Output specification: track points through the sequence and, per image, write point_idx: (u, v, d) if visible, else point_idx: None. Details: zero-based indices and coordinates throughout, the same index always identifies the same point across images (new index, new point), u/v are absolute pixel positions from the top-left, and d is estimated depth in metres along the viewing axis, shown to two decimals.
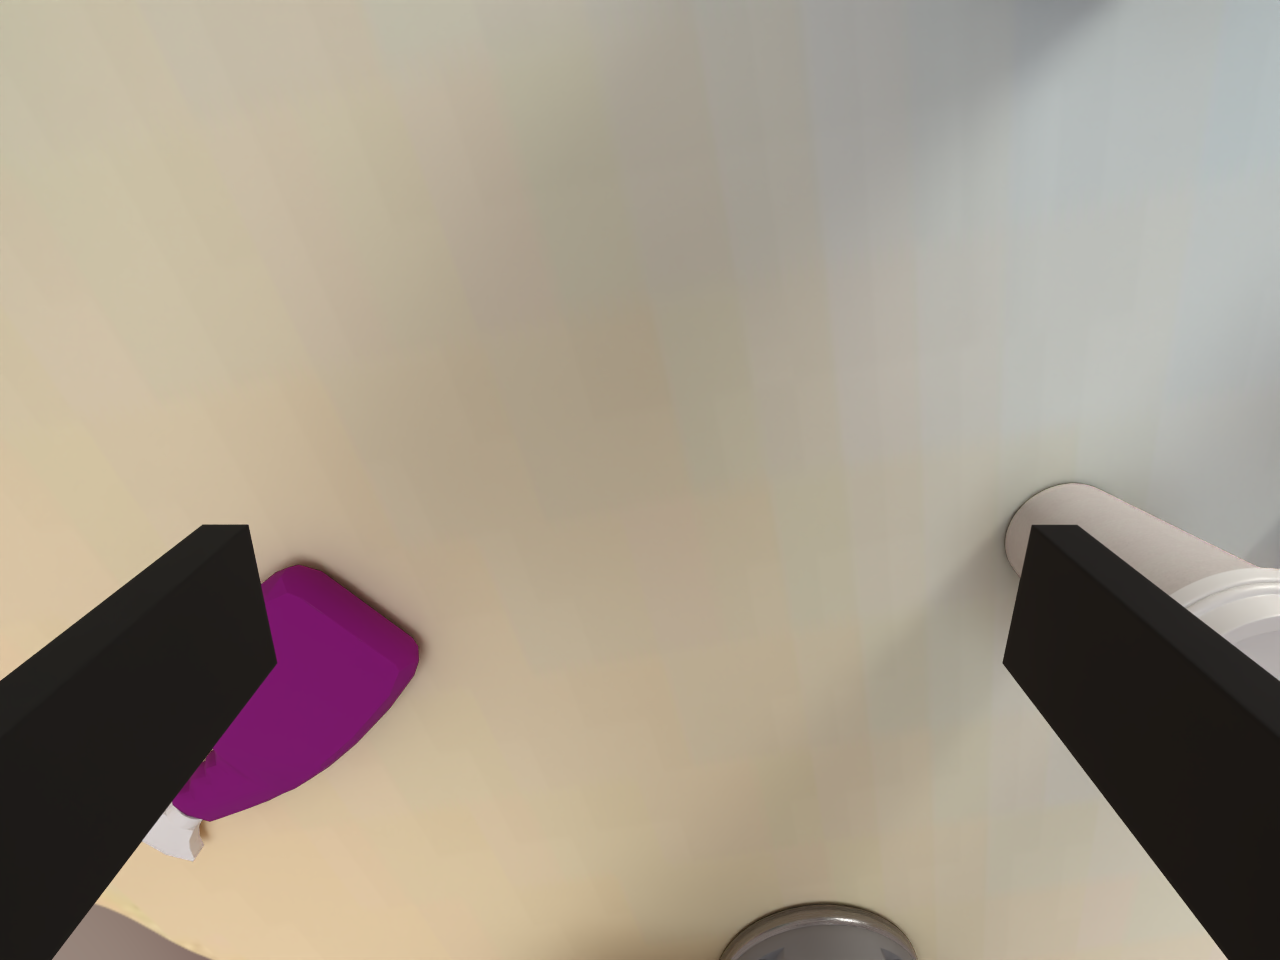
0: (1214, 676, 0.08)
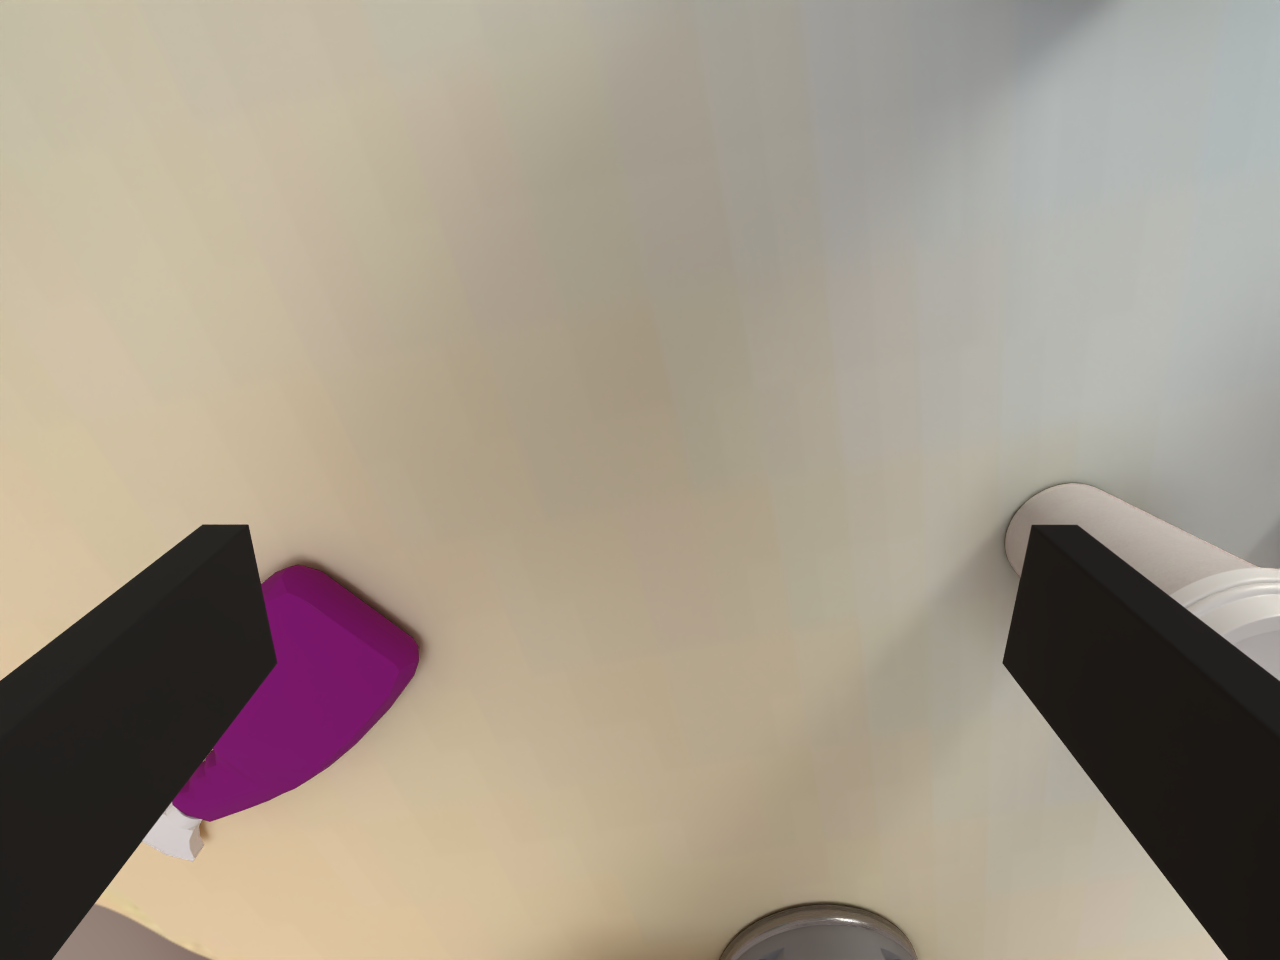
0: (1214, 676, 0.08)
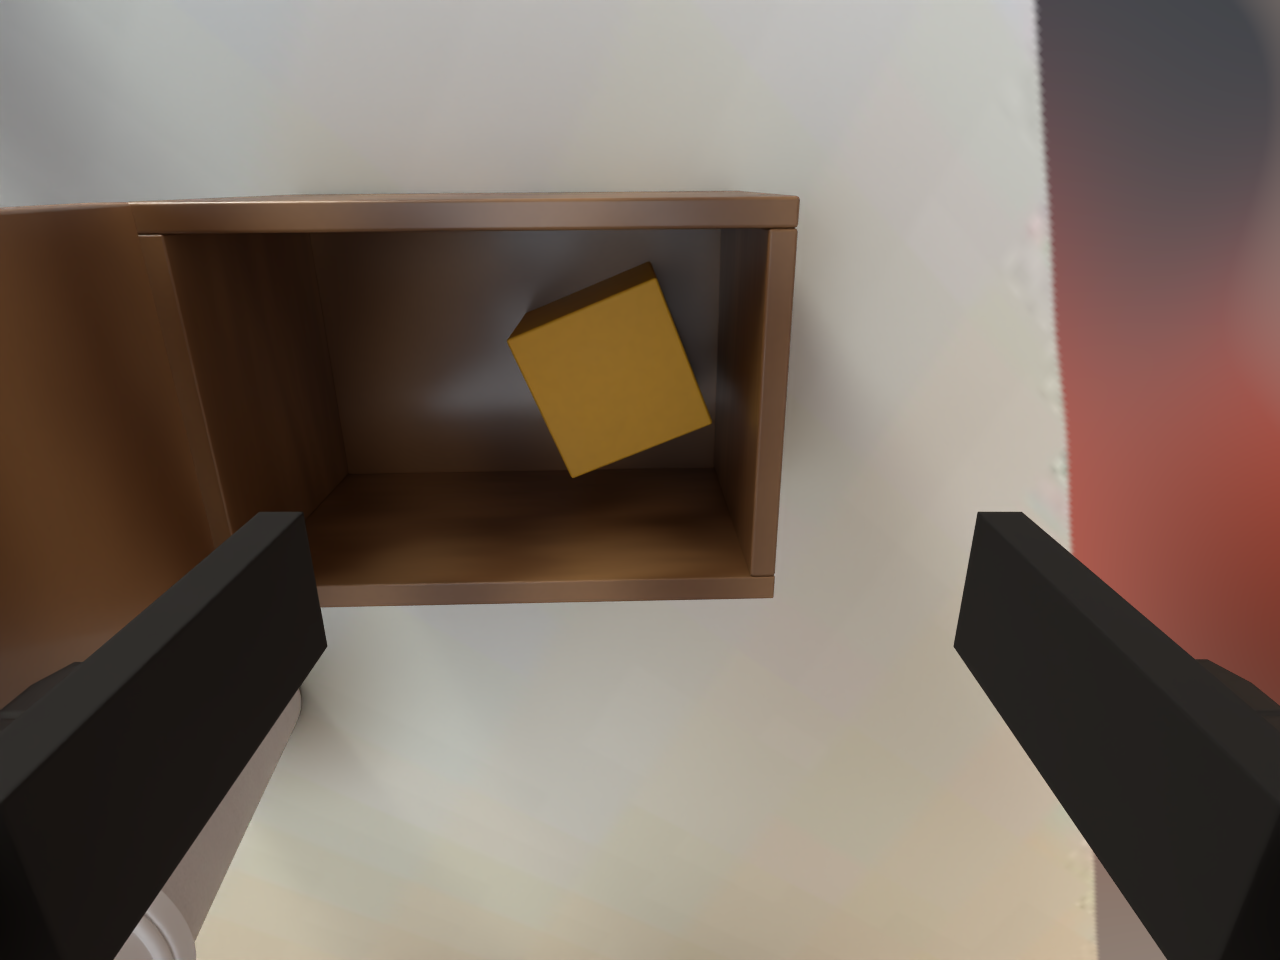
0: (1127, 649, 0.09)
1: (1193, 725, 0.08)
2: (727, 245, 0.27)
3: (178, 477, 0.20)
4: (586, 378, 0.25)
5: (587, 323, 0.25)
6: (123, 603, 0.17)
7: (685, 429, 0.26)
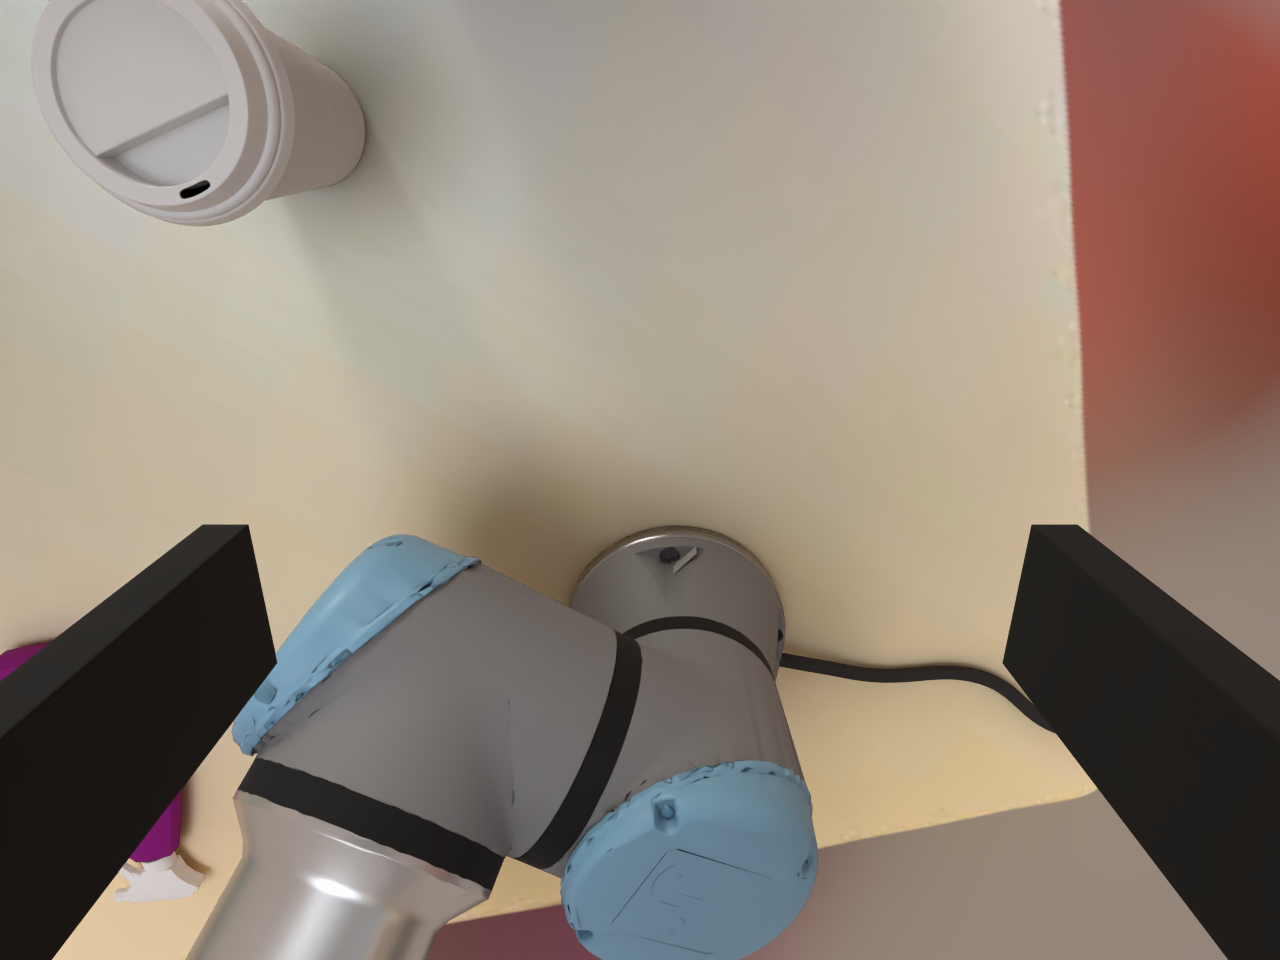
0: (1215, 677, 0.08)
1: None
2: None
3: None
4: None
5: None
6: None
7: None
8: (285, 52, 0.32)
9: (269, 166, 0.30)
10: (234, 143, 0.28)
